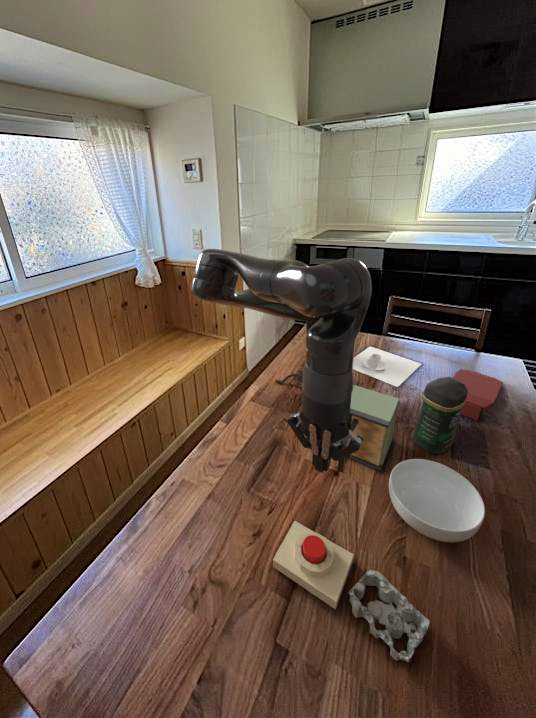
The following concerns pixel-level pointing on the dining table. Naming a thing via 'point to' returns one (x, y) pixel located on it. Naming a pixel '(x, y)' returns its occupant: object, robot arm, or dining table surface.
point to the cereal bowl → (436, 500)
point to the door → (365, 441)
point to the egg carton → (389, 614)
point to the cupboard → (374, 416)
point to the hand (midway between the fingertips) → (321, 468)
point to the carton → (478, 392)
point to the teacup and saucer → (384, 366)
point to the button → (314, 549)
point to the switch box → (314, 565)
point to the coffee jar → (440, 414)
